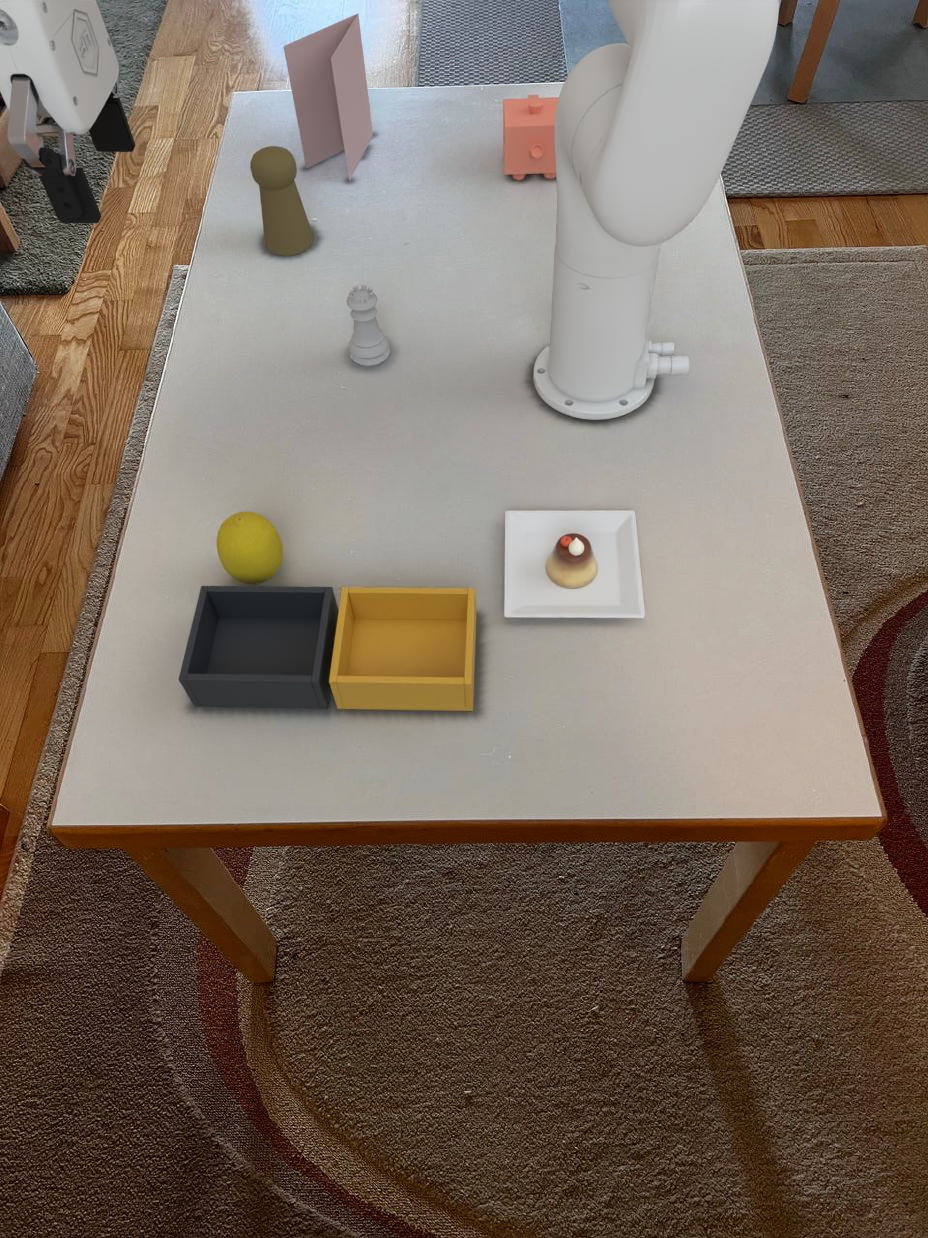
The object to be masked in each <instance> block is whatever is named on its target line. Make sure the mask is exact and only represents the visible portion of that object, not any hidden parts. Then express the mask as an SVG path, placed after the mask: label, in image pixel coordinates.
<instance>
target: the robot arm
mask: <svg viewBox="0 0 928 1238" xmlns="http://www.w3.org/2000/svg"><path fill="white" fill-rule="evenodd" d="M607 1H608V6H609V9H610V11H611V13H612V14H611V15H612V16H613V19H614V20H615V22H616V23H617V26H618V28H619V30H620V31H621V33H622V35H623V37H624V39H625V41H626V43H624V42H618V43H617V42H613V43H609V44H605V45H603V46H599V47H597V48H595V49H593V50H592V51H590V52H589V53H587V54H586V55H585V56H584V57H582V58H581V59H580V60H579V61H578V62H577V63H576V64H575V65H574V67H573V68H572V69H571V71H570V72H569V73H568V75H567V77H566V79H565V81H564V83H563V85H562V87H561V90H560V93H559V96H558V97H559V99H558V103H557V108H556V115H555V159H556V177H555V178H556V179H555V180H556V219H555V241H554V242H555V244H554V252H553V253H554V254H553V256H554V257H553V273H552V274H553V275H552V291H551V292H552V293H551V313H550V314H551V315H550V329H549V331H550V332H549V344H548V345H546V346H545V347H544V348H543V349H542V350H541V351H540V353H539V354H538V355H537V358H536V359H535V362H534V365H533V375H532V376H533V384H534V388H535V390H536V392H537V394H538V396H539V397H540V398H541V399H542V400H543V401H544V402H545V403H546V404H547V406H550V408H552V409H554V410H555V411H558V412H559V413H561V414H564V415H567V416H570V417H572V418H577V419H582V420H593V421H599V420H600V421H601V420H610V419H614V418H620V417H622V416H624V415H627V414H629V413H630V414H631V412H634V410H635V411H636V409H639V408H640V407H641V406H642V405H643V404H644V403H645V402H646V401H648V399H649V397H650V396H651V394H652V391H653V389H654V386H655V379H656V378H657V376H658V375H669V376H688V375H689V371H690V356H689V355H675V347H676V345H675V342H674V341H673V342H672V341H669V342H667V341H665V342H664V341H661V342H653V341H652V340H650V339H648V336H647V334H648V327H649V322H650V321H649V320H650V314H651V308H652V304H653V303H652V301H653V296H654V289H655V283H656V278H657V277H656V276H657V271H658V265H659V258H660V254H661V248H662V244H663V243H664V242H667V241H668V240H670V239H672V238H673V237H676V236H677V235H678V234H679V233H681V232H683V230H685V229H686V228H687V227H688V226H689V225H690V224H691V223H692V222H693V221H694V219H696V218H697V216H698V215H699V213H700V212H701V211H702V209H703V208H704V207H705V205H706V203H707V201H708V200H709V198H710V197H711V194H712V193H713V191H714V188H715V187H716V185H717V182H718V181H719V178H720V176H721V174H722V172H723V169H724V167H725V165H726V163H727V161H728V157H729V155H730V154H731V151H732V149H733V146H734V144H735V142H736V139H737V137H738V135H739V133H740V130H741V128H742V125H743V123H744V120H745V118H746V115H747V114H748V111H749V109H750V106H751V104H752V102H753V100H754V97H755V95H756V92H757V90H758V88H759V85H760V83H761V80H762V78H763V76H764V73H765V70H766V68H767V65H768V63H769V60H770V58H771V54H772V51H773V47H774V43H775V40H776V36H777V29H778V23H779V12H780V10H779V9H780V0H607ZM119 65H120V64H119V62H118V58H117V55H116V52H115V50H114V46H113V44H112V41H111V37H110V35H109V33H108V29H107V27H106V25H105V22H104V19H103V16H102V14H101V11H100V8H99V5H98V3H97V0H0V95H1V97H2V98H3V101H4V103H5V106H6V107H7V109H8V119H7V120H8V121H7V131H6V132H7V133H6V137H7V141H8V143H9V146H11V147H12V149H14V151H15V153H17V154H18V155H19V157H20V158H21V160H22V162H23V164H24V165H25V167H26V168H28V169H30V170H31V172H32V173H33V175H34V176H36V177H38V178H39V179H40V182H41V184H42V187H43V188H44V191H45V193H46V196H47V198H48V200H49V203H50V204H51V207H52V209H53V212H54V214H55V217H56V218H57V220H58V221H59V222H60V223H63V224H98V223H100V220H101V219H102V213H101V211H100V208H99V206H98V203H97V201H96V198H95V196H94V193H93V190H92V187H91V186H90V183H89V180H88V178H87V175H86V172H85V170H84V168H83V167H77V162H76V152H75V151H76V150H75V142H74V134H76V135H77V136H81V135H83V136H84V135H85V134H87V133H89V136H90V138H91V142H92V143H93V146H94V149H95V150H96V151H97V152H100V153H132V152H134V150H135V148H136V142H135V138H134V136H133V133H132V129H131V127H130V125H129V121H128V119H127V116H126V112H125V110H124V107H123V103H122V101H121V100H122V99H121V97H118V96H119V85H118V79H119V73H120V66H119ZM45 118H52V119H53V120H54V121H55V123H43V120H44V119H45ZM44 138H57V139H58V149H59V153H58V152H56V151H55V150H53V149H51V148H49V147H47V146H46V147H45V144H44Z"/></svg>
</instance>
